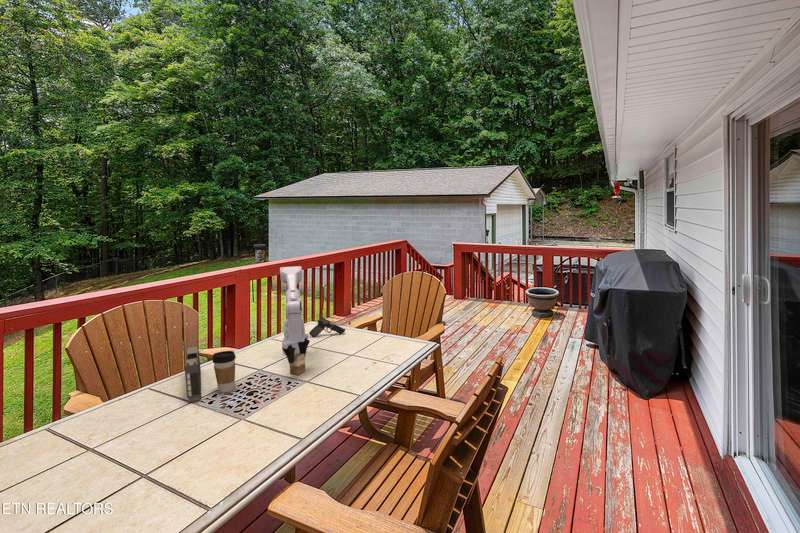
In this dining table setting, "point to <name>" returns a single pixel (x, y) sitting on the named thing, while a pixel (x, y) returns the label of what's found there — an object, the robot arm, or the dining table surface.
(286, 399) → the dining table surface
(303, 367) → the walnut block
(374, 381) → the dining table surface
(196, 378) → the graphics card
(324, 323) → the handgun
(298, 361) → the maple block
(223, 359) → the coffee cup
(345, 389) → the dining table surface
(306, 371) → the board
